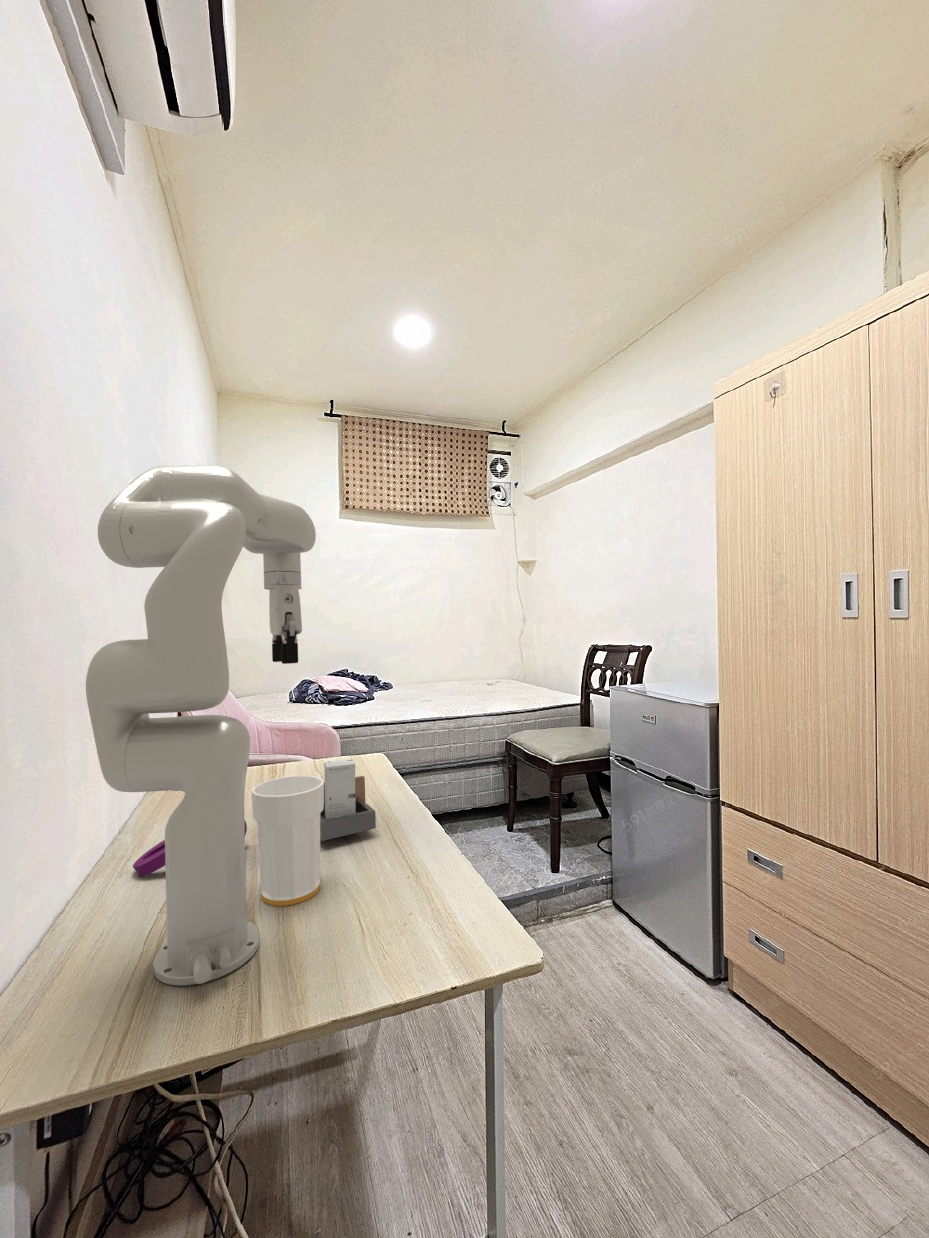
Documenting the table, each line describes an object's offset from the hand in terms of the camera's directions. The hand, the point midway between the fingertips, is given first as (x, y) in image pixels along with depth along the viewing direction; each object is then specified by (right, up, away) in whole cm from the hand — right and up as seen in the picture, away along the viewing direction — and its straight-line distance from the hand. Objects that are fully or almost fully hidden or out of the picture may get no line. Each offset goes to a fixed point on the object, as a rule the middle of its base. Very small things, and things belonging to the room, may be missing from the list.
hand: (284, 662), depth 109 cm
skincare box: (+12, -33, -2) cm, 35 cm away
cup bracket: (+12, -36, -1) cm, 38 cm away
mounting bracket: (-13, -37, -13) cm, 41 cm away
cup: (+10, -36, -25) cm, 45 cm away
